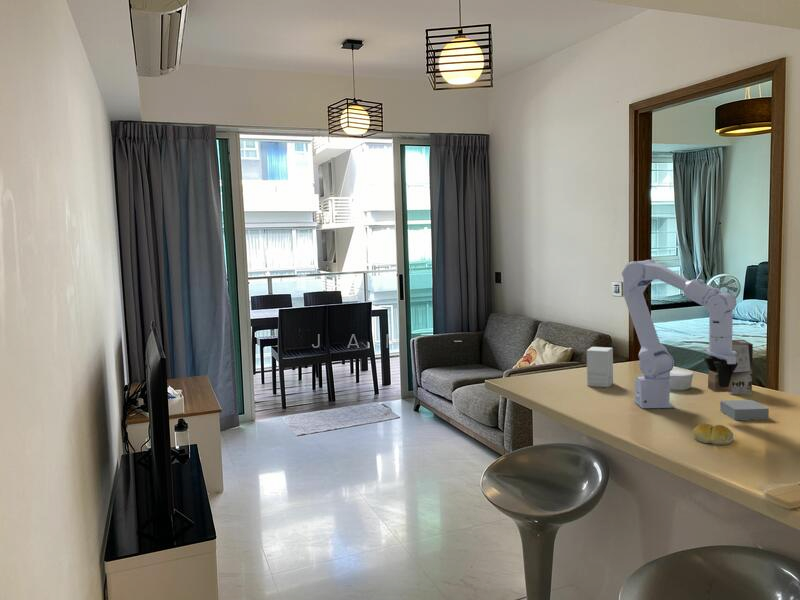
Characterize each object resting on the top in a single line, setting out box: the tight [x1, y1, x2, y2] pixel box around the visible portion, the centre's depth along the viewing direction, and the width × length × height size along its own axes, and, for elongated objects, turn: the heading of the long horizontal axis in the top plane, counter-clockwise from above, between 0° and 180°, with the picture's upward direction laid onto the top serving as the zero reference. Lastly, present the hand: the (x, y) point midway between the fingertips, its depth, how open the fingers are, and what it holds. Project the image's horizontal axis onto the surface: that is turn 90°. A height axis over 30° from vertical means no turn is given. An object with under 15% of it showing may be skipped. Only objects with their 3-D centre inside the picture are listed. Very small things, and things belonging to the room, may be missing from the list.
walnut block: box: [707, 370, 732, 393], centre depth 176 cm, size 4×4×5 cm
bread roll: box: [692, 423, 734, 446], centre depth 160 cm, size 8×9×4 cm
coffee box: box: [728, 339, 754, 396], centre depth 203 cm, size 9×6×16 cm
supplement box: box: [585, 346, 614, 388], centre depth 219 cm, size 7×7×13 cm
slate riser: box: [719, 399, 770, 421], centre depth 179 cm, size 9×9×3 cm
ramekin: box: [670, 368, 694, 391], centre depth 212 cm, size 11×11×5 cm
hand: (720, 384), depth 176 cm, fingers closed on walnut block, 4 cm apart
